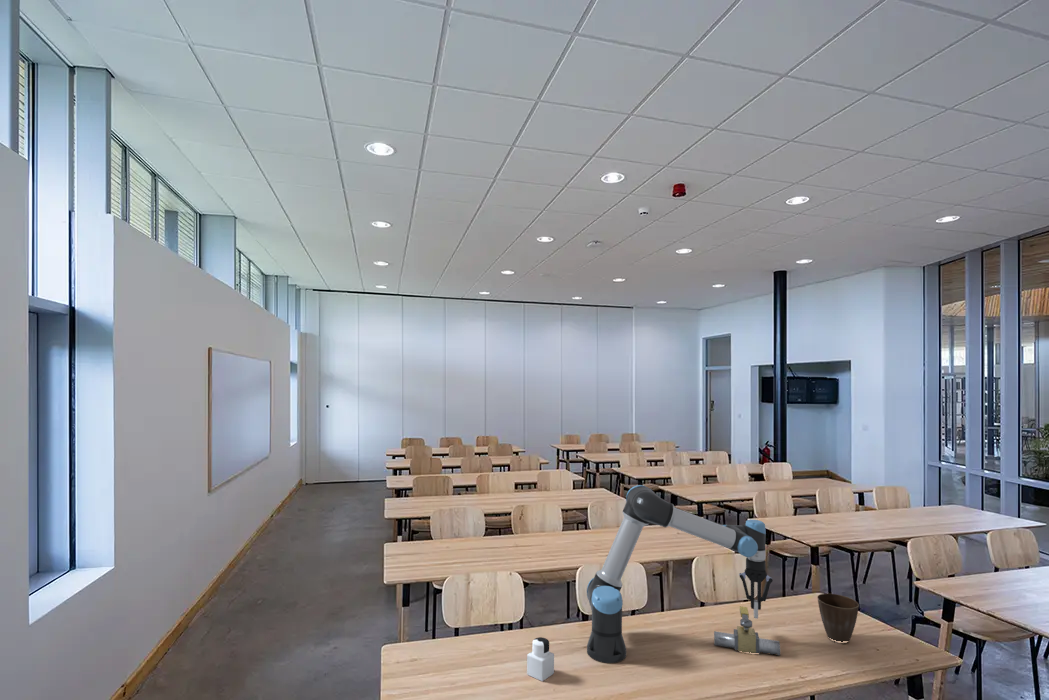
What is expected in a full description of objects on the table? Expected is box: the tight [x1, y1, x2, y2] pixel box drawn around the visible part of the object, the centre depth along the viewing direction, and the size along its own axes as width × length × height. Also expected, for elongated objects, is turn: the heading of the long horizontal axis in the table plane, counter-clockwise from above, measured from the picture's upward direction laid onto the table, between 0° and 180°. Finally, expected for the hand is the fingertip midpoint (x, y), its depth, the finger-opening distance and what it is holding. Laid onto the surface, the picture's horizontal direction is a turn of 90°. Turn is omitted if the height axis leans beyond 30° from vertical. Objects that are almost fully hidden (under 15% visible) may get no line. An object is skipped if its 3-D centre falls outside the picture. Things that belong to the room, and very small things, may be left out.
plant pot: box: [817, 593, 860, 642], centre depth 226 cm, size 15×15×16 cm
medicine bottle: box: [526, 637, 555, 682], centre depth 195 cm, size 7×7×12 cm
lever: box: [739, 606, 753, 628], centre depth 222 cm, size 17×4×2 cm, turn 162°
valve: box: [713, 625, 781, 656], centre depth 216 cm, size 24×7×9 cm, turn 72°
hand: (755, 616), depth 224 cm, fingers closed
